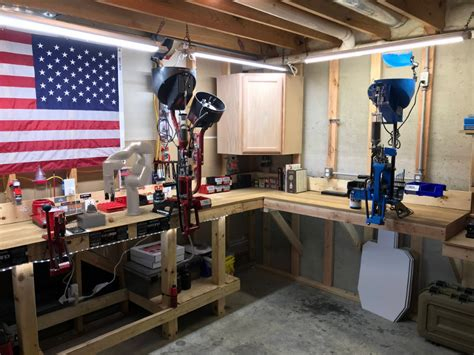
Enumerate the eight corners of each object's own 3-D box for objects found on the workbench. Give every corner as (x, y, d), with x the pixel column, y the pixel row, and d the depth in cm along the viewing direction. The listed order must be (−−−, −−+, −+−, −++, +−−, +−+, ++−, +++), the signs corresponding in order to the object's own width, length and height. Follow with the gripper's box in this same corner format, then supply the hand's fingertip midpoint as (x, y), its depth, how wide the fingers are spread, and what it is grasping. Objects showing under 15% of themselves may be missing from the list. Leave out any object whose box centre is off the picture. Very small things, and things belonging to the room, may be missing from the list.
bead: (112, 220, 287) (112, 215, 286) (114, 221, 284) (114, 216, 283) (107, 221, 284) (107, 216, 284) (109, 222, 281) (109, 217, 281)
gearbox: (99, 222, 283) (98, 209, 282) (106, 225, 274) (105, 211, 273) (77, 226, 272) (76, 212, 271) (83, 229, 264) (82, 215, 262)
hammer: (59, 230, 275) (98, 218, 295) (55, 215, 272) (95, 204, 293) (56, 229, 278) (95, 217, 299) (53, 214, 276) (93, 203, 296)
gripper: (118, 178, 276) (119, 201, 278) (108, 176, 288) (109, 198, 291) (108, 179, 271) (109, 203, 273) (98, 177, 284) (100, 199, 286)
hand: (109, 200), depth 282 cm, fingers open, 9 cm apart
